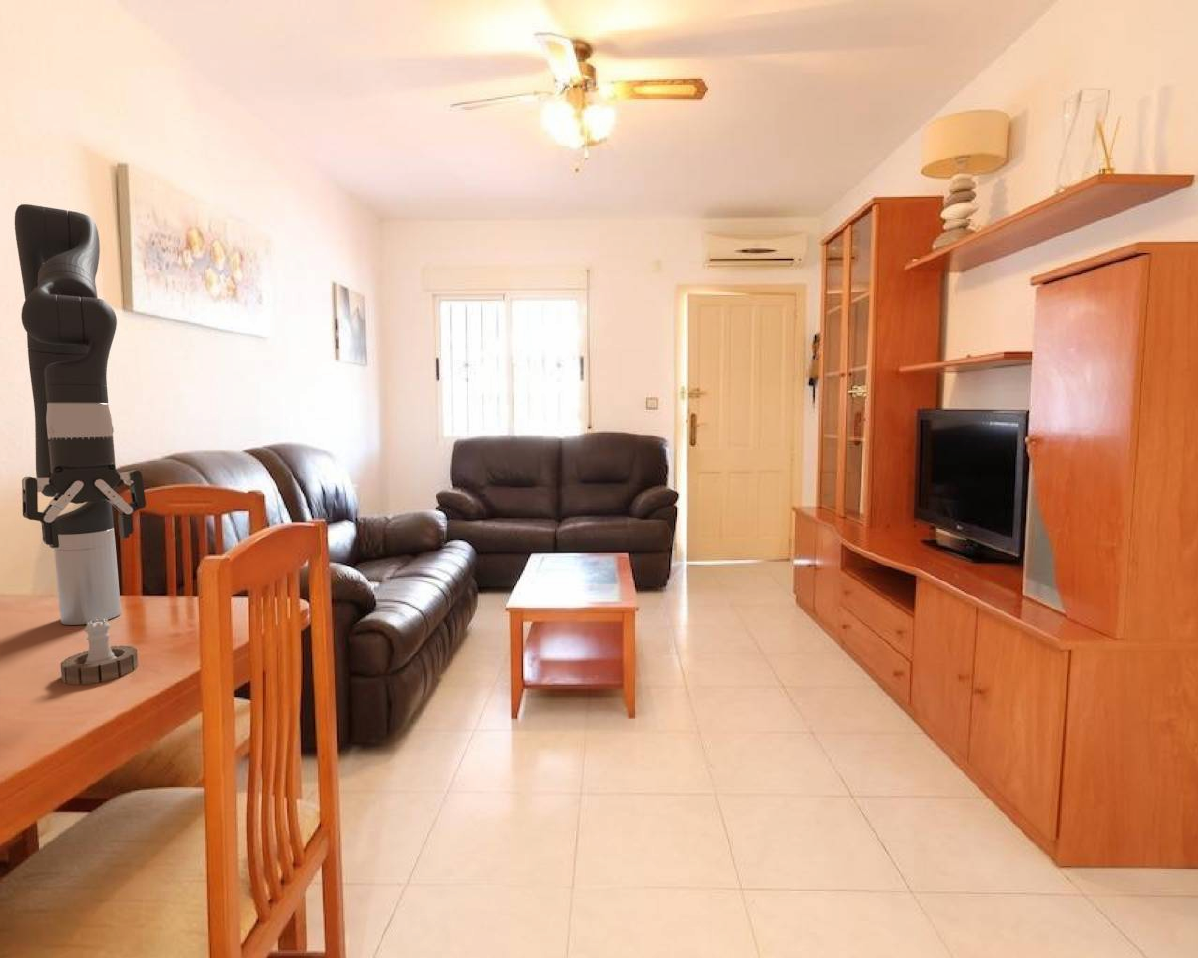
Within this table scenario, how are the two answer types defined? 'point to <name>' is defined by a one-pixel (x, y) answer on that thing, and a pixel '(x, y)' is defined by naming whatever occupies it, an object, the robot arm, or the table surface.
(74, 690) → the table surface
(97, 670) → the walnut ring bead
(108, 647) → the rook chess piece
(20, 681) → the table surface
